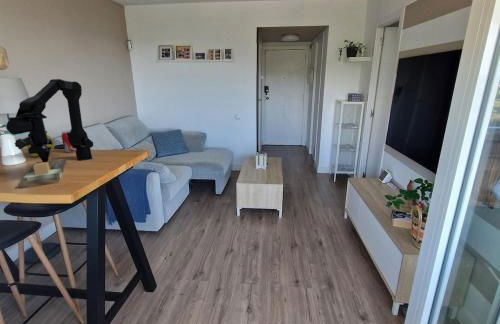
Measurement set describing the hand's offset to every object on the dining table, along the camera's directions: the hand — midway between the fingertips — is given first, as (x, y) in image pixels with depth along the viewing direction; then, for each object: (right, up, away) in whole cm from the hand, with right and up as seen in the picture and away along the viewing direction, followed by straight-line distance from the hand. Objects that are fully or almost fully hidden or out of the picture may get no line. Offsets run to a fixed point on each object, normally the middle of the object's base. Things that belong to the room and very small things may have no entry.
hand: (45, 164), depth 123 cm
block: (+4, -4, -7) cm, 8 cm away
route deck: (+1, -4, 0) cm, 5 cm away
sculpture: (-26, +5, +33) cm, 42 cm away
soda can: (-14, +7, +39) cm, 42 cm away
